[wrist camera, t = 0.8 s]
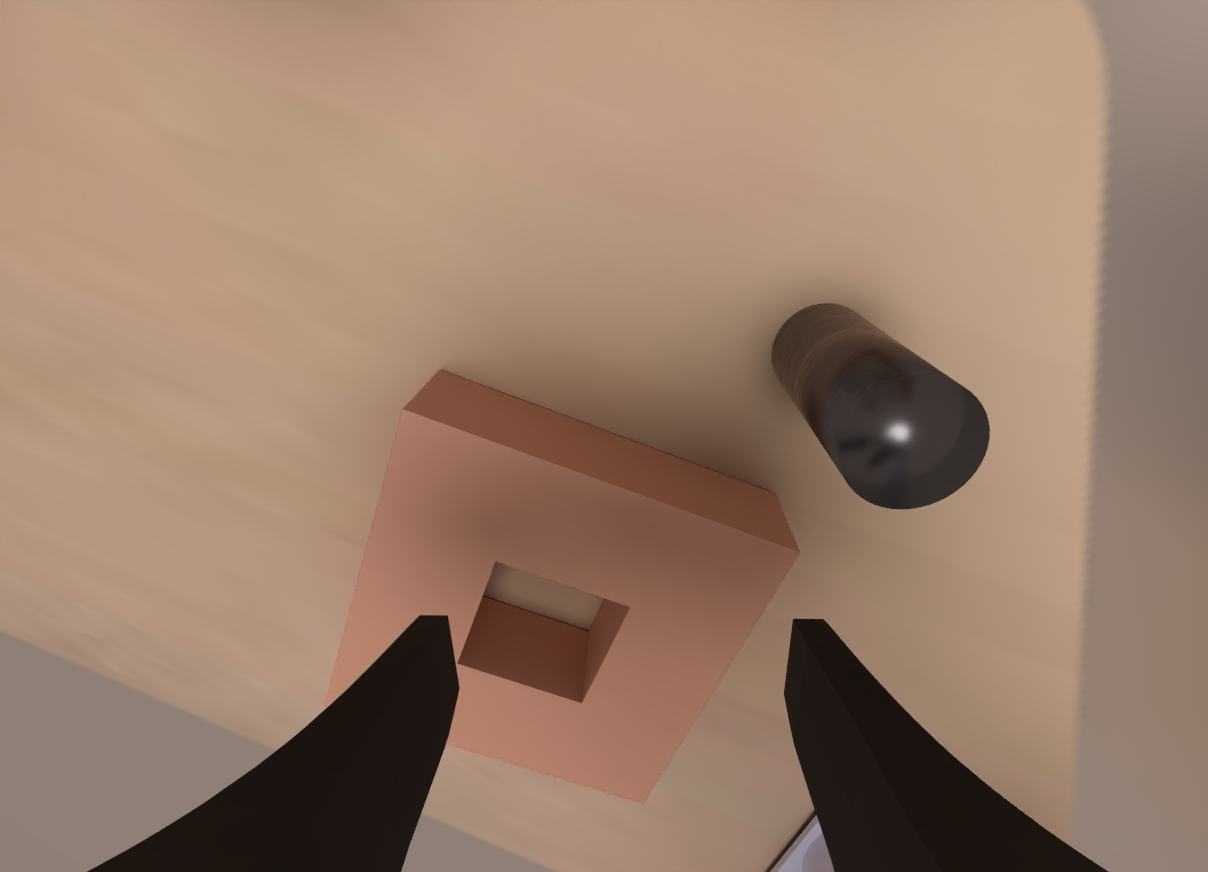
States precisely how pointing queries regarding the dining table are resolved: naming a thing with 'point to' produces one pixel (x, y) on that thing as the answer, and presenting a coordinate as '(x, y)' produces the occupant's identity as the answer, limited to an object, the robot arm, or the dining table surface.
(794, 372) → the peg
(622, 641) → the socket block
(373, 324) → the dining table surface
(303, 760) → the robot arm
